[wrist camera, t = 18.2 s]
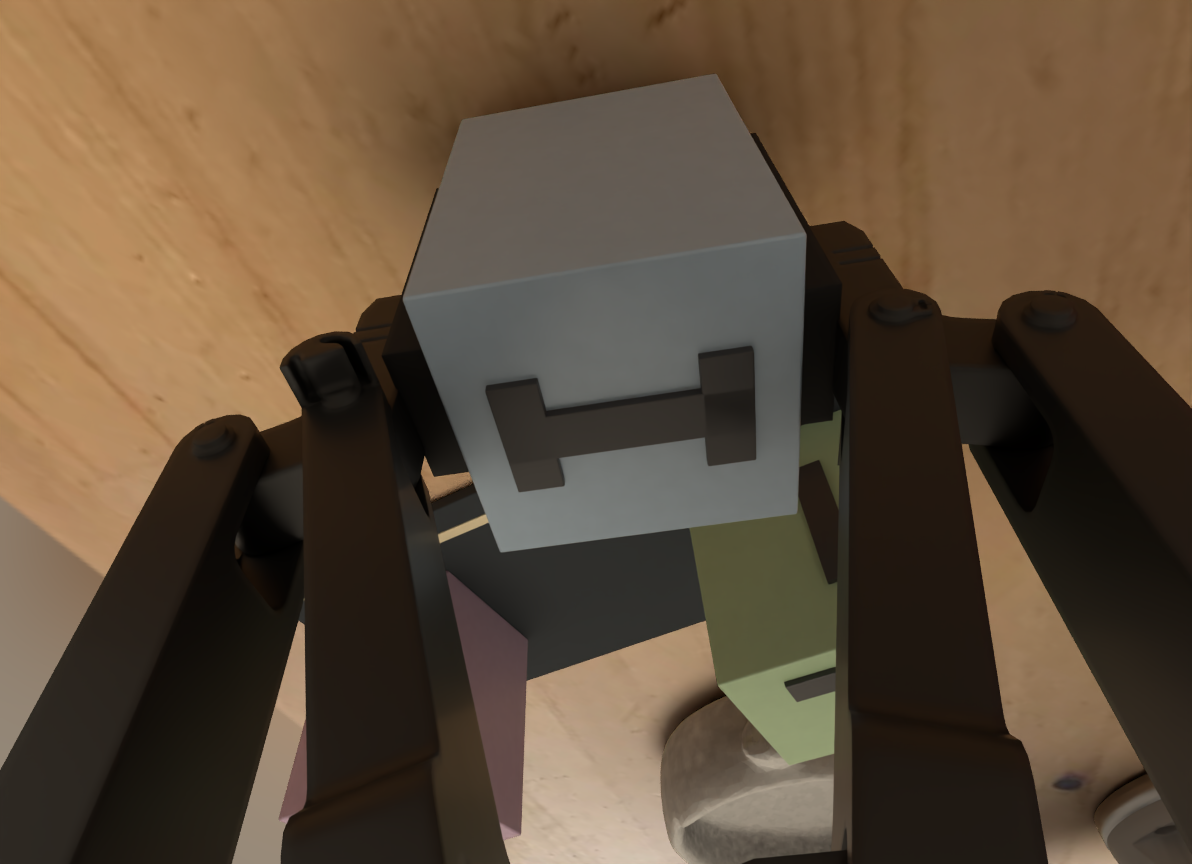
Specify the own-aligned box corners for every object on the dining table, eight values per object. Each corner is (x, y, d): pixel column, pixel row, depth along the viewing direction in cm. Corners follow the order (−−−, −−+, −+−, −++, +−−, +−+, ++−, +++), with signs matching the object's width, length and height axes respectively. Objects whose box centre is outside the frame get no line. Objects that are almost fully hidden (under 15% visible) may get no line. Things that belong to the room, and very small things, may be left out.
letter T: (444, 566, 26) (413, 781, 21) (528, 639, 30) (521, 841, 24) (330, 613, 28) (271, 824, 22) (421, 677, 31) (391, 875, 26)
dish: (710, 651, 32) (730, 765, 28) (979, 683, 35) (1030, 791, 31) (616, 788, 41) (622, 888, 37) (836, 804, 44) (861, 899, 40)
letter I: (454, 119, 16) (387, 306, 10) (716, 72, 15) (811, 237, 9) (513, 332, 19) (491, 561, 13) (727, 299, 19) (800, 521, 13)
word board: (852, 314, 20) (859, 325, 20) (934, 531, 27) (940, 543, 27) (256, 580, 27) (252, 592, 27) (436, 701, 34) (435, 713, 33)
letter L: (841, 404, 22) (940, 620, 16) (887, 511, 25) (983, 721, 20) (677, 471, 24) (715, 689, 18) (740, 563, 27) (790, 771, 21)
